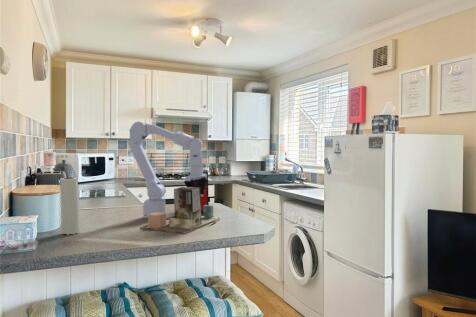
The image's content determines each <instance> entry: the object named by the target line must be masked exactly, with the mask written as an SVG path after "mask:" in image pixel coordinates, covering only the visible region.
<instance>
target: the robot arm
mask: <svg viewBox="0 0 476 317" xmlns="http://www.w3.org/2000/svg"><path fill="white" fill-rule="evenodd" d="M149 135H158V136H161V137H163V138H166V139H170V140H172V142H173V144H175V145H177V146H180V147H183V148H185V149H188V148H189V172H190V175H189V174H188V175H187V176H185V180H184V182H183V183H184V184H185V187H196V184H198V188H201V194H202V195H203V194H204V191H205V187H206V184H207V182H208V183H209V178H208V179H206V178H207V174H203V170H204V169H203V168H204V166H203V163H204V162H203V160H204V159H203V149H202V148H203V146H204V145H203V144H204V143H203V141H202V140H201V139H199V138H198V137H195V136H194V135H189V134H187V133H185V132H184V131H182V130H181V131H176V132H172V131H170V130H168V129H166V128H163V127H160V126H158V125H156V124H152V123H151V124H150V123H146V122H142V121H136V122H133V124H132V125H131V127H130V129H129V139H128V145H129V146H128V147H129V149H130V150H131V152H132V154H133V156H134V159H135V161H136V164H137V166H138V168H139V170H140V172H141V174H142V176H143V178H144V181H145V188H146V190H147V191H146V193H147V197H148V199H145V200H144V201H143V206H142V207H143V208H142V209H143V211H142V212H143V216H142V217H143V218H145V219H148V215H149V214H152V213H154V212H159V213H166V214H167V212H166V197H165V196H164V195H165V194H166V192H167V191H166V190H167V189H166V187H165V185H164V184H163V183H162V182H161V181H160V179H159V178H158V177H157V175H156V173H155V170H154V168H153V166H152V164H151V162H150V160H149V157H148V156H147V154H146V151H145V149H144V146H143V143H144V141H145V139H146V138H147V137H148V136H149ZM199 177H200V178H199ZM193 180H196V181H193Z"/></svg>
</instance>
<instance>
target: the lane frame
mask: <svg viewBox="0 0 476 317" xmlns="http://www.w3.org/2000/svg"><path fill="white" fill-rule="evenodd" d="M169 218H175V215H173V216H170V217H166V222H169ZM212 220H213V221H212ZM212 220H210V221H211V222H209V221H207V222H208V223H207V222H205V223H206V224H204V223H202V224H203V225H201V226H198V227H196V228H194V229H189V230H187V231H180V230H172V229H171V230H170V229H165V228H168V227H169V223H168V224H167V223H166V225H165V226H162V227H159V228H150V227H148V224H146V225H143V226H139V229H142V230H150V231H159V232H164V233H172V234H173V233H174V234H182V235H187V234H189V233H192V232H194V231H196V230H198V229H202V228H203V227H206V226H207V228H209V227H211V226H213V225H216V223H217V222H216V221H217V220H214V219H212ZM208 225H209V226H208Z"/></svg>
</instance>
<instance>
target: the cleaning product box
mask: <svg viewBox="0 0 476 317" xmlns="http://www.w3.org/2000/svg"><path fill="white" fill-rule="evenodd" d="M203 174H207V178H206V179H208V180H209V170H208V169H203ZM189 175H190V171H189V173H188V176H189ZM199 178H200V177H199ZM193 181H196V180H193ZM196 187H197V188H198V184H196ZM204 205H210V202H209V181H208V182H207V184H206V187H205V191H204V194H203V195H202V194H201V215H204Z"/></svg>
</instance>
